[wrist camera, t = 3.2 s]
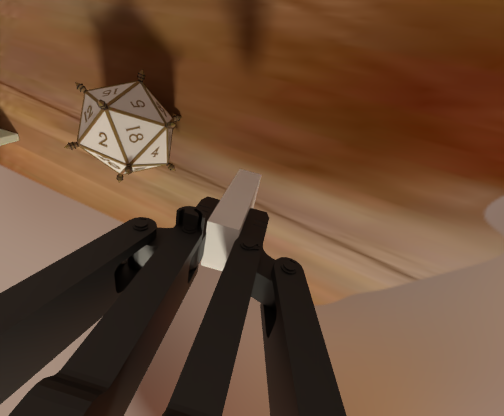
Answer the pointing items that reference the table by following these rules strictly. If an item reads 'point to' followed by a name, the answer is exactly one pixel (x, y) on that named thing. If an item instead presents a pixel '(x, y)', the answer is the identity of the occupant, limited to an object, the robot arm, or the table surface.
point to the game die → (125, 127)
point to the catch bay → (7, 137)
